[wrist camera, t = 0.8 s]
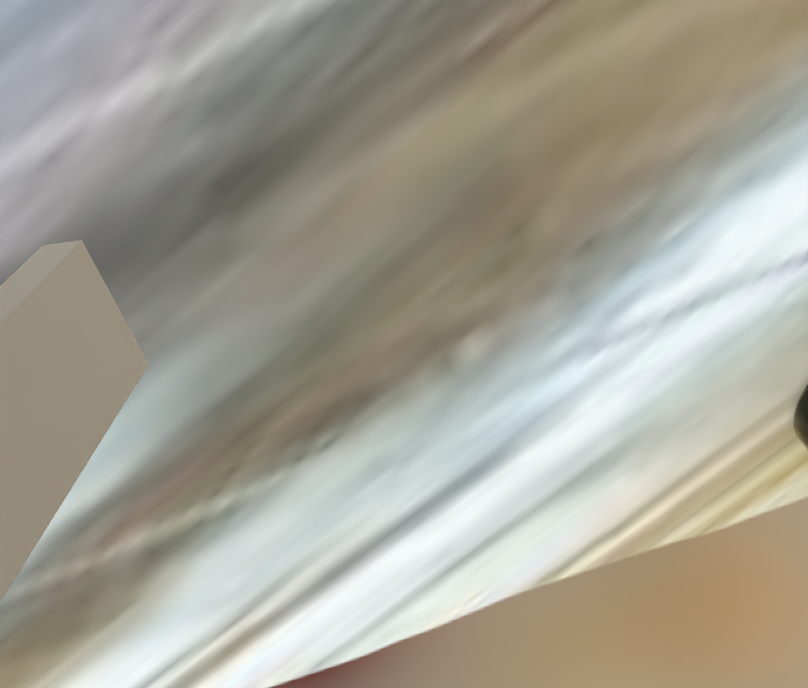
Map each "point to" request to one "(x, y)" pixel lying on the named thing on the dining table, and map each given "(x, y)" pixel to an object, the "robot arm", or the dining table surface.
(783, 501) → the dining table surface
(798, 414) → the dark wine bottle
